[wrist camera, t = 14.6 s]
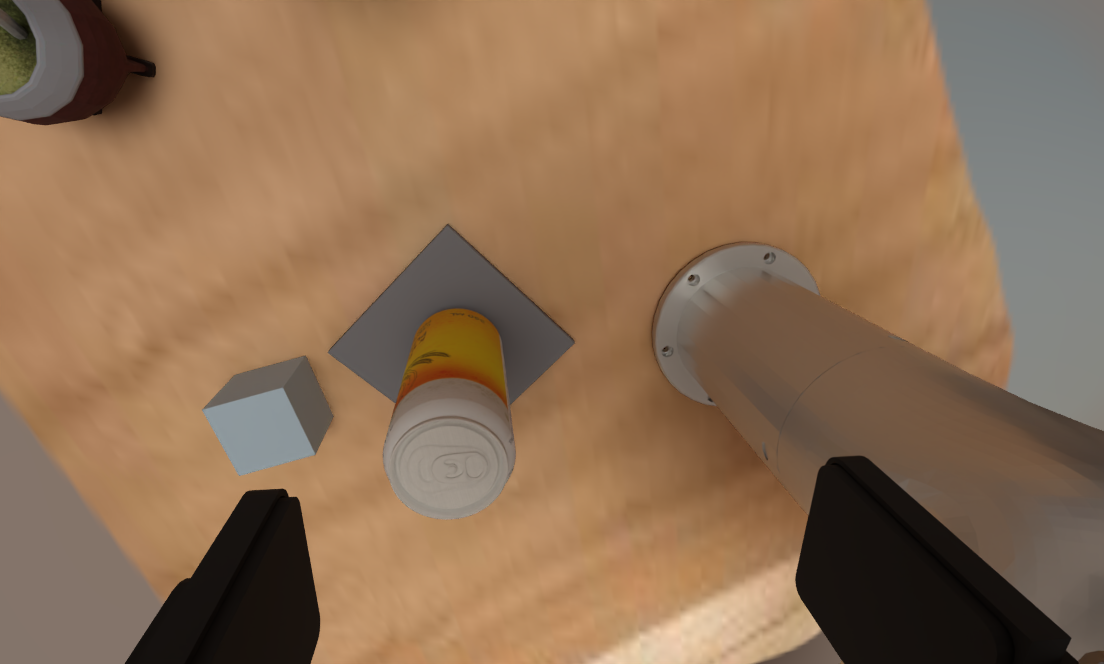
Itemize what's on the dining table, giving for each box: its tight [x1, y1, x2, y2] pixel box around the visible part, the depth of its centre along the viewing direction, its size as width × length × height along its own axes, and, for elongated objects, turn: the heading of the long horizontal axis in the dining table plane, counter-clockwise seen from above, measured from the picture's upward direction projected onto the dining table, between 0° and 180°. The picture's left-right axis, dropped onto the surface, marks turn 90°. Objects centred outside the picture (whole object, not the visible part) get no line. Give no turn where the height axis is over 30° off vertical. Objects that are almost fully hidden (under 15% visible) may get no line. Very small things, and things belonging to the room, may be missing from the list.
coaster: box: [328, 224, 575, 404], centre depth 39 cm, size 12×12×1 cm
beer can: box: [383, 308, 516, 519], centre depth 32 cm, size 6×6×15 cm
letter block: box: [202, 356, 334, 476], centre depth 37 cm, size 5×5×5 cm
